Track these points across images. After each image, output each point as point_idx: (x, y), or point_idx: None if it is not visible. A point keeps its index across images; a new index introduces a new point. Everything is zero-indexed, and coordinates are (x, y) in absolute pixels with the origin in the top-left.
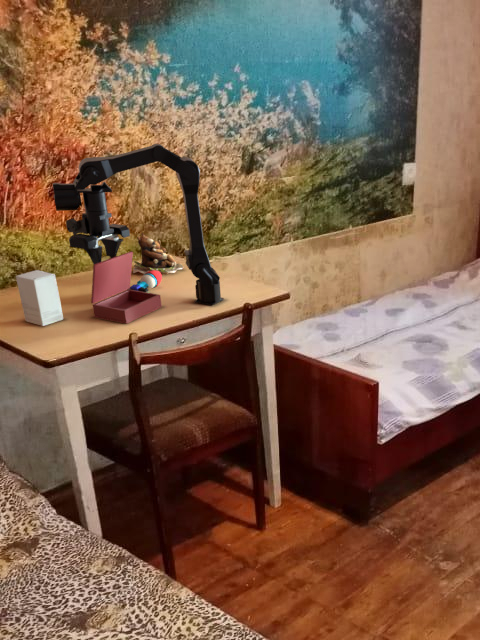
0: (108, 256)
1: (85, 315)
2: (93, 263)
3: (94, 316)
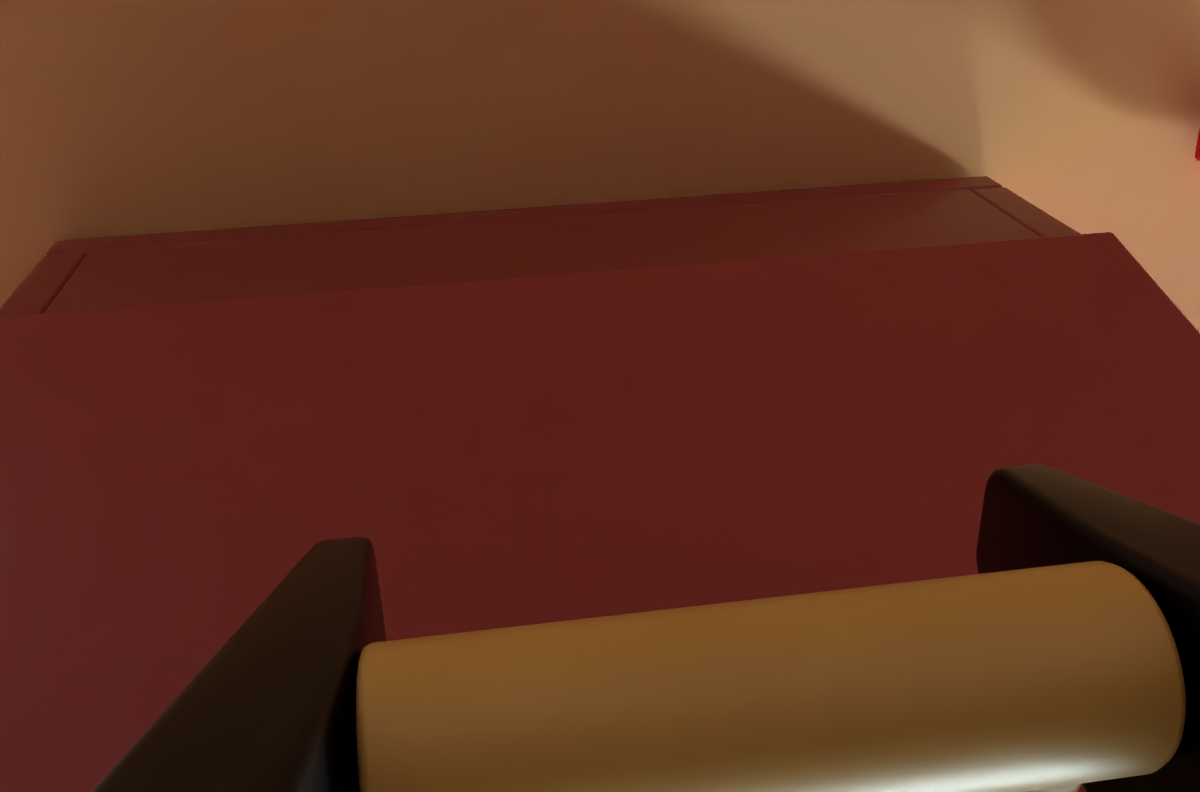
0: (1093, 780)
1: (30, 28)
2: (200, 686)
3: (51, 253)
